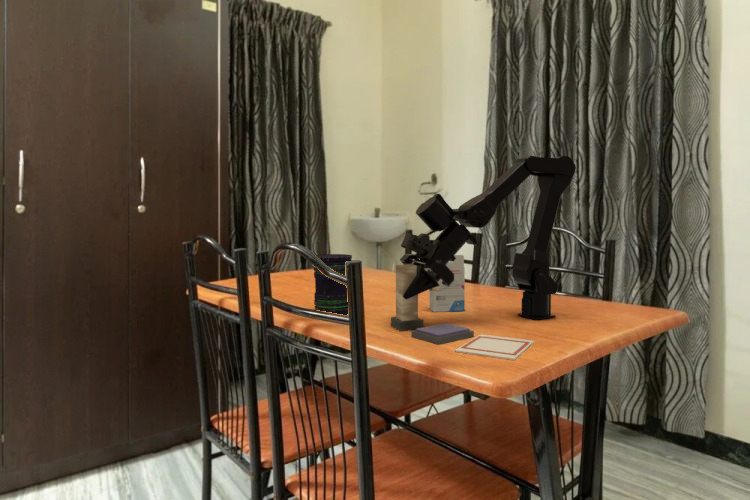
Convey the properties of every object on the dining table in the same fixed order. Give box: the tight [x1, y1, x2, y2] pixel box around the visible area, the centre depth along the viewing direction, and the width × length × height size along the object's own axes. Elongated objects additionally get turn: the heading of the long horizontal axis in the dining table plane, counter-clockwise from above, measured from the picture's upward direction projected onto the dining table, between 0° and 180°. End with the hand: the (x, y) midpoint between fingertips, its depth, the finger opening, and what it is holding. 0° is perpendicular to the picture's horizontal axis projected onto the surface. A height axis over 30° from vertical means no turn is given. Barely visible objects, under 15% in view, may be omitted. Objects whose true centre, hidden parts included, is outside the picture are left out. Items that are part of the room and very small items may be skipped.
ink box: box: [429, 254, 466, 313], centre depth 133 cm, size 8×5×15 cm, turn 96°
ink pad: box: [411, 322, 475, 346], centre depth 104 cm, size 10×8×2 cm
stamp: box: [390, 264, 424, 332], centre depth 113 cm, size 6×6×14 cm
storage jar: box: [313, 253, 353, 315], centre depth 129 cm, size 10×10×15 cm
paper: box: [454, 334, 535, 361], centre depth 96 cm, size 14×11×1 cm
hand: (401, 296), depth 112 cm, fingers closed on stamp, 4 cm apart
